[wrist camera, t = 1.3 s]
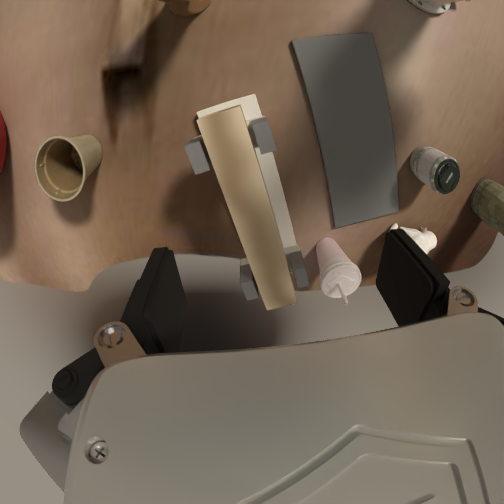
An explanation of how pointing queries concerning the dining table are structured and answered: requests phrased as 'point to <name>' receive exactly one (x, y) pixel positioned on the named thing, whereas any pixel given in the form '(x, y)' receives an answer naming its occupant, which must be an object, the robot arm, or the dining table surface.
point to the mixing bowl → (2, 142)
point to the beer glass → (186, 6)
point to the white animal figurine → (420, 237)
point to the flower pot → (66, 165)
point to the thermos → (489, 203)
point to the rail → (248, 202)
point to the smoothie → (336, 270)
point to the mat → (351, 124)
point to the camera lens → (435, 169)
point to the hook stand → (264, 153)
